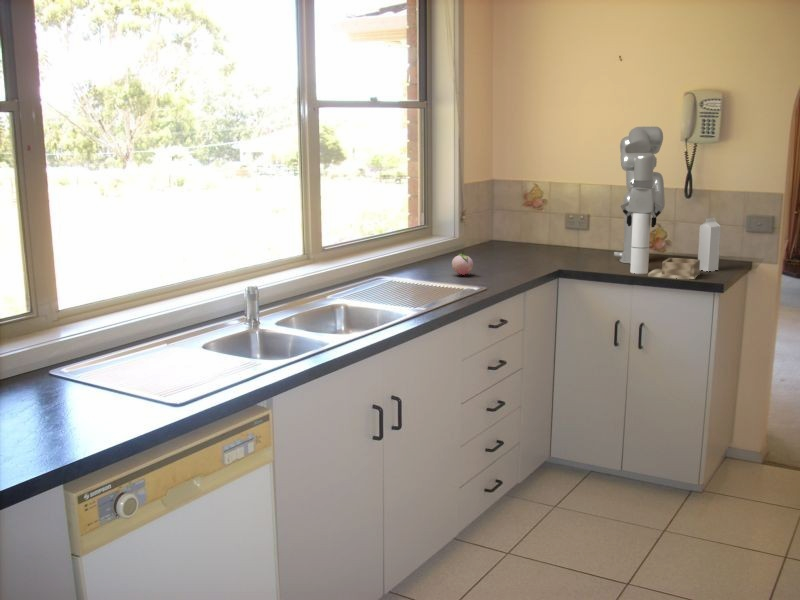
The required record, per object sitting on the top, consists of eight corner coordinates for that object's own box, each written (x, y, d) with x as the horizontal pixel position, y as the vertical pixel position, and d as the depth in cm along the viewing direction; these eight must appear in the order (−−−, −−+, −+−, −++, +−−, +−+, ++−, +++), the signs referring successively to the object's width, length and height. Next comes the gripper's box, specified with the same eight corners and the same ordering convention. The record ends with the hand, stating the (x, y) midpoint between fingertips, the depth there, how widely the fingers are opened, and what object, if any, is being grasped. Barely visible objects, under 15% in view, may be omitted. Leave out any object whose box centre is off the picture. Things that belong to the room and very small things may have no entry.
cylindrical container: (649, 271, 361) (652, 212, 356) (646, 274, 355) (649, 214, 349) (631, 270, 364) (634, 211, 359) (628, 273, 358) (631, 213, 352)
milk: (718, 270, 361) (722, 218, 356) (708, 272, 358) (711, 219, 353) (706, 268, 366) (710, 217, 361) (696, 269, 363) (700, 218, 359)
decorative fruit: (448, 275, 359) (448, 251, 357) (465, 273, 362) (465, 250, 360) (458, 278, 351) (458, 254, 349) (476, 277, 354) (476, 253, 352)
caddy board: (648, 276, 350) (648, 261, 349) (655, 271, 361) (656, 256, 360) (693, 279, 342) (694, 264, 340) (699, 274, 353) (700, 259, 351)
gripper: (619, 185, 353) (617, 226, 356) (662, 186, 344) (660, 228, 348) (624, 183, 359) (622, 224, 363) (666, 184, 351) (664, 226, 354)
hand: (641, 226), depth 355 cm, fingers open, 9 cm apart
